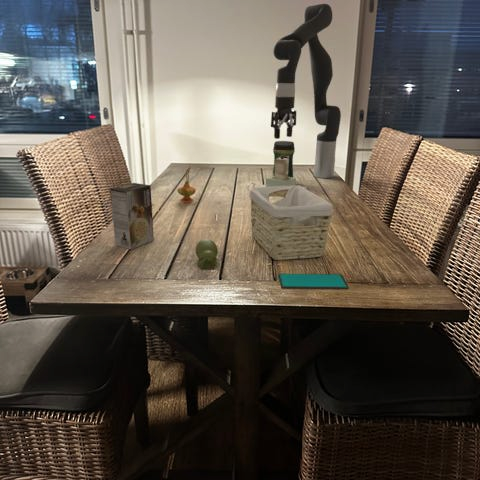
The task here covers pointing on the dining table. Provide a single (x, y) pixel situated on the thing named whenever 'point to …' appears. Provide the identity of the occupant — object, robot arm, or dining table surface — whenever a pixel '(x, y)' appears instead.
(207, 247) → the green rounded piece
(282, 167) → the beige long rectangular block
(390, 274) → the dining table surface
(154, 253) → the dining table surface
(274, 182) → the stand
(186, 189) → the magic lamp
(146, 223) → the coffee box
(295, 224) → the storage basket
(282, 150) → the coffee jar
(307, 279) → the smartphone
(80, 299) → the dining table surface
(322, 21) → the robot arm
